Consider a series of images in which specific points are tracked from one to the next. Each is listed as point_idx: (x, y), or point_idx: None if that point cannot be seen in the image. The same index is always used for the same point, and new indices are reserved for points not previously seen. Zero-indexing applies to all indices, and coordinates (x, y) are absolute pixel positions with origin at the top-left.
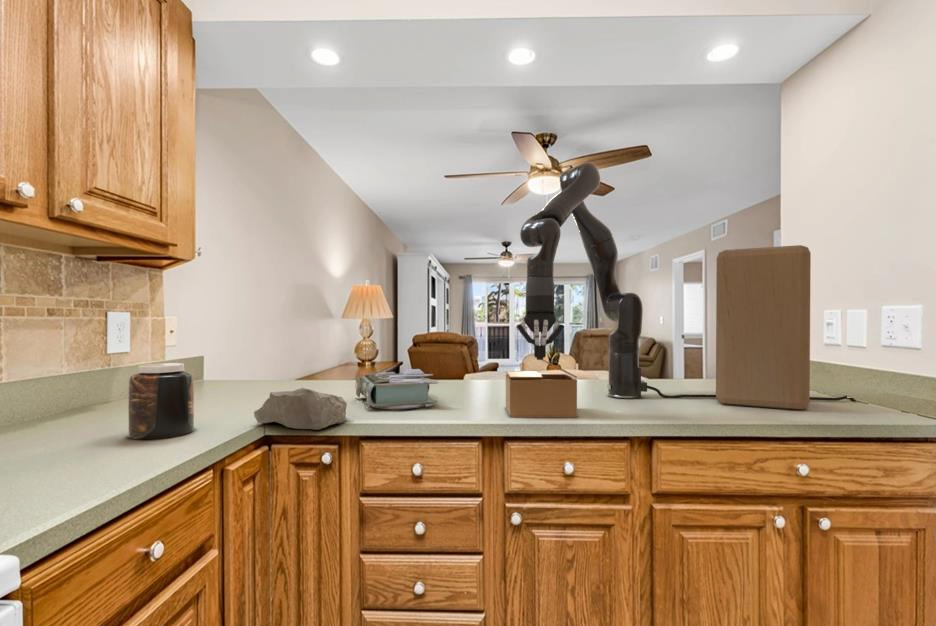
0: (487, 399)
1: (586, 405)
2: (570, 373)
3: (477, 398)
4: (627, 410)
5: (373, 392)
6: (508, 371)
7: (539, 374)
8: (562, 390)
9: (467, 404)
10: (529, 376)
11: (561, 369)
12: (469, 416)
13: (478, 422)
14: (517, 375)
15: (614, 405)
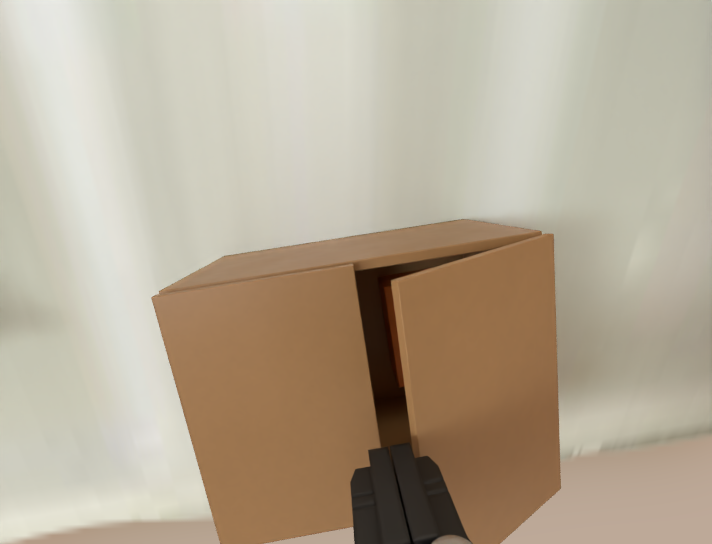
0: (96, 32)
1: (553, 147)
2: (538, 508)
3: (33, 3)
4: (676, 236)
5: None
6: (170, 309)
7: (375, 434)
8: None
9: (38, 196)
10: (321, 524)
11: (501, 537)
12: (121, 431)
13: (174, 505)
14: (254, 497)
15: (665, 130)
